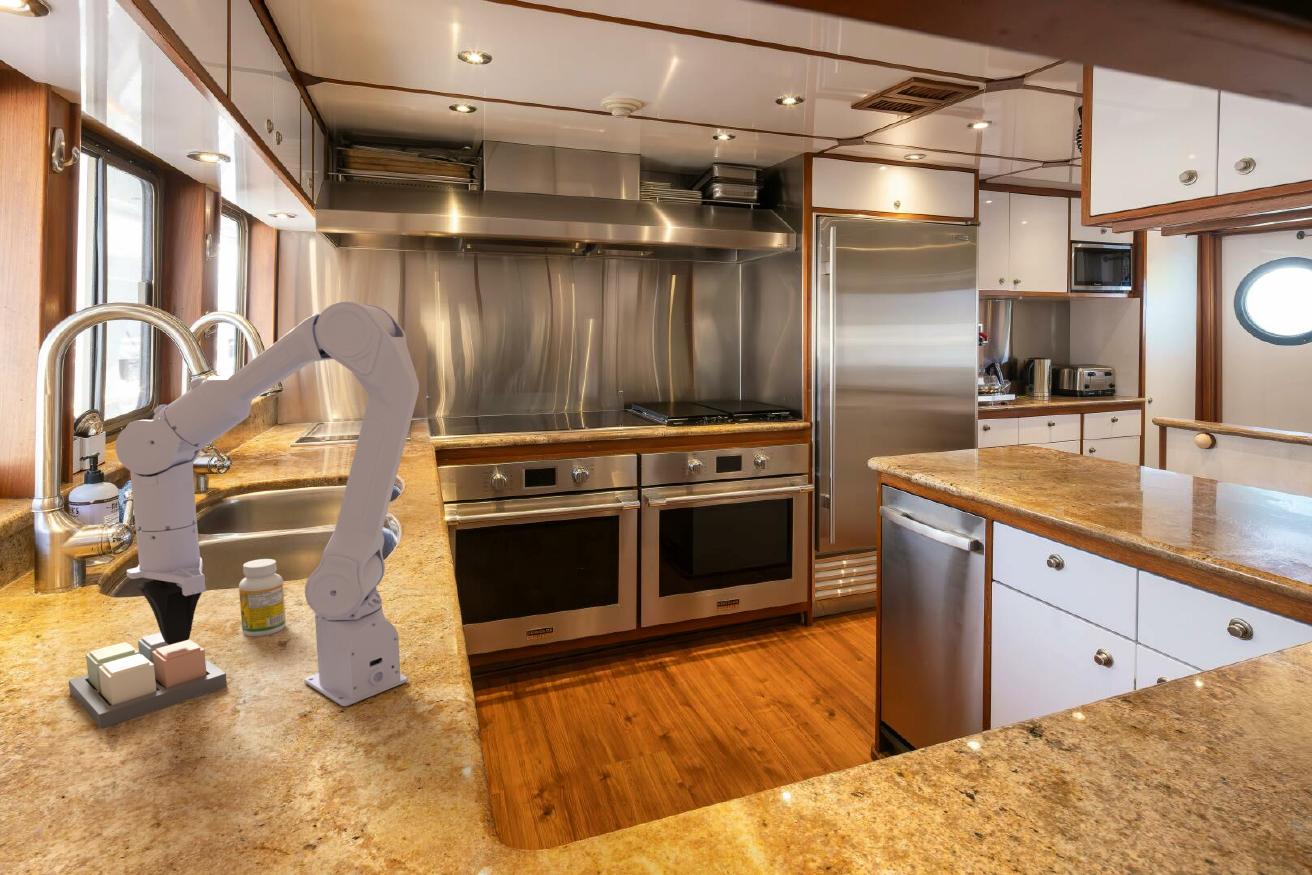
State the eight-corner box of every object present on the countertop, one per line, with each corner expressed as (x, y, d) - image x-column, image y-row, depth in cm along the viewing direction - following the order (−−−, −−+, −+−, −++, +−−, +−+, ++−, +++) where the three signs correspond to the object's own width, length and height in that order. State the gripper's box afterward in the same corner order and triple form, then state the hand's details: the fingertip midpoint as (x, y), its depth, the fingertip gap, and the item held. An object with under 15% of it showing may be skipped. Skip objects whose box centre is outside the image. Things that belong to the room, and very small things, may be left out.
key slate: (190, 663, 87) (188, 635, 86) (151, 675, 84) (148, 646, 83) (178, 654, 89) (176, 627, 89) (140, 665, 86) (137, 637, 86)
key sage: (141, 678, 83) (138, 649, 82) (98, 691, 80) (95, 661, 79) (130, 668, 85) (127, 640, 85) (88, 680, 82) (85, 651, 82)
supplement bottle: (281, 634, 99) (277, 567, 97) (237, 639, 97) (232, 570, 96) (289, 620, 104) (284, 555, 103) (247, 624, 102) (242, 558, 101)
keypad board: (226, 686, 84) (225, 673, 84) (100, 728, 75) (99, 714, 75) (188, 657, 92) (187, 645, 91) (69, 693, 82) (68, 679, 82)
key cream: (156, 691, 80) (153, 661, 79) (112, 705, 77) (109, 674, 76) (144, 681, 82) (141, 651, 82) (101, 694, 79) (98, 664, 79)
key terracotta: (206, 675, 84) (204, 646, 83) (166, 688, 81) (164, 658, 80) (193, 665, 86) (191, 637, 86) (154, 677, 83) (151, 649, 83)
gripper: (104, 521, 82) (115, 635, 84) (146, 544, 73) (158, 671, 75) (174, 510, 88) (184, 617, 90) (222, 530, 79) (231, 649, 81)
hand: (177, 640), depth 83 cm, fingers closed
